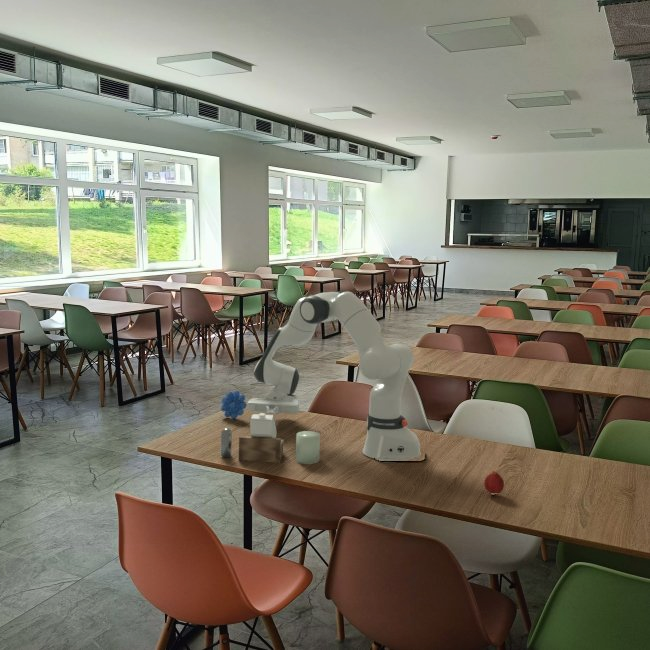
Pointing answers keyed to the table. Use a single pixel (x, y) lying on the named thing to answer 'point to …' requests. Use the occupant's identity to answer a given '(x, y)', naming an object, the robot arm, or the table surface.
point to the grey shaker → (226, 443)
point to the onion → (494, 483)
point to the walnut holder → (260, 449)
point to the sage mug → (307, 447)
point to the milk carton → (262, 426)
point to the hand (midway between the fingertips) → (270, 411)
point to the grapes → (233, 404)
